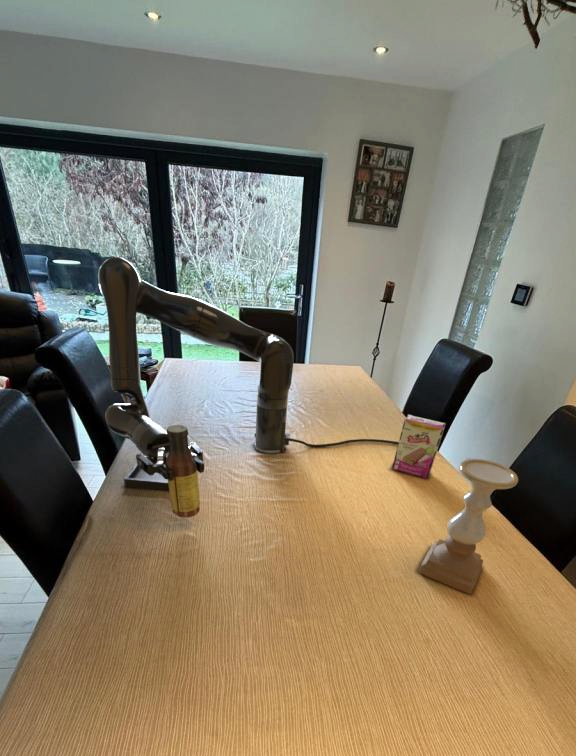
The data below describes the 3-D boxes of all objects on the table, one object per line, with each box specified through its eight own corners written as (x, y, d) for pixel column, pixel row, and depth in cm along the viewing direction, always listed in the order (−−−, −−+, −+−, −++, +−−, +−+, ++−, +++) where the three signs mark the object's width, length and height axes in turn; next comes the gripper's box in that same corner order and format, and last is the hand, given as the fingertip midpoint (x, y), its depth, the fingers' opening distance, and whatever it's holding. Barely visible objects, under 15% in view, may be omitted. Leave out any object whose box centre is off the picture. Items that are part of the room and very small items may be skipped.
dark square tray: (191, 465, 119) (190, 458, 117) (178, 491, 106) (177, 483, 105) (143, 461, 118) (142, 454, 117) (125, 486, 106) (123, 479, 105)
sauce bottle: (205, 507, 95) (202, 426, 84) (191, 522, 90) (185, 437, 79) (180, 500, 96) (173, 419, 85) (164, 514, 91) (156, 430, 80)
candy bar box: (391, 470, 126) (403, 418, 117) (394, 463, 130) (407, 413, 121) (428, 480, 123) (444, 428, 114) (430, 473, 127) (446, 422, 118)
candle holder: (471, 595, 83) (517, 492, 70) (417, 572, 87) (451, 472, 74) (481, 566, 91) (524, 469, 78) (432, 546, 95) (465, 452, 82)
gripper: (120, 432, 90) (151, 464, 80) (181, 421, 98) (217, 448, 87) (125, 463, 94) (155, 497, 84) (183, 450, 102) (218, 479, 92)
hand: (187, 472), depth 86 cm, fingers closed on sauce bottle, 6 cm apart
